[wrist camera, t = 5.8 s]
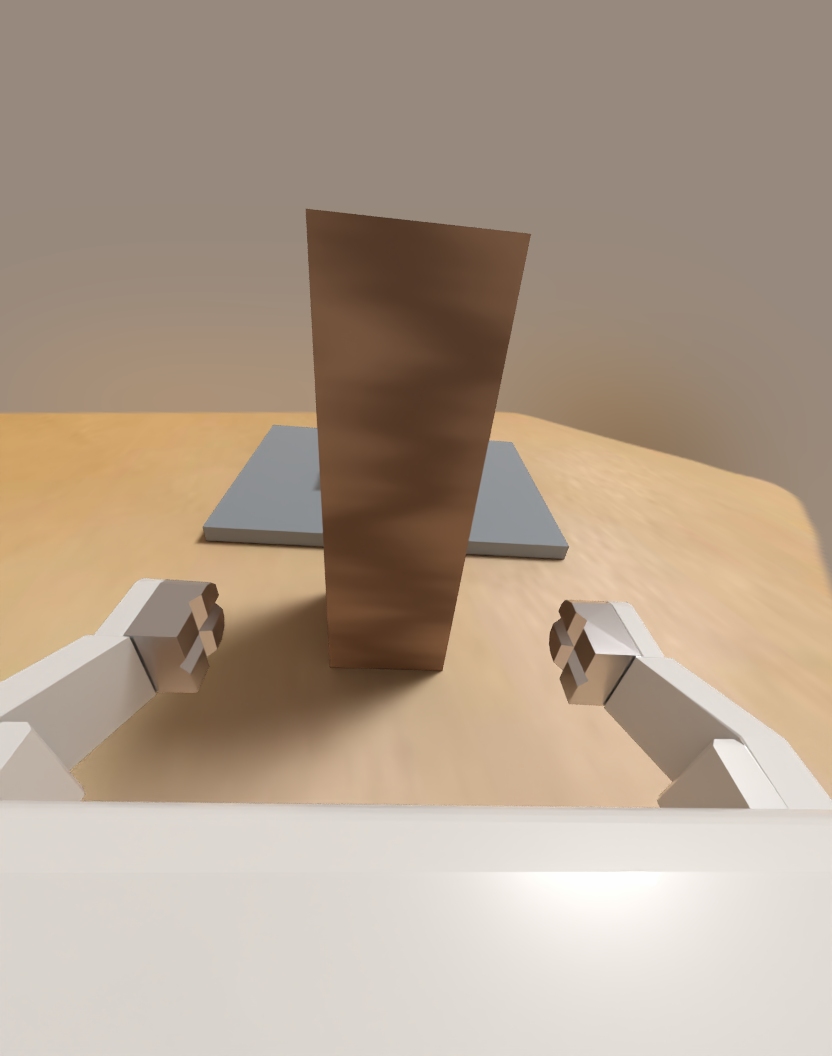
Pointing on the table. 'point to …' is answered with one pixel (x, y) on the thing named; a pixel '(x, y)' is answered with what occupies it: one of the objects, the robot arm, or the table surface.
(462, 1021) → the robot arm
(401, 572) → the pillar
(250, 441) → the table surface
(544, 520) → the board
